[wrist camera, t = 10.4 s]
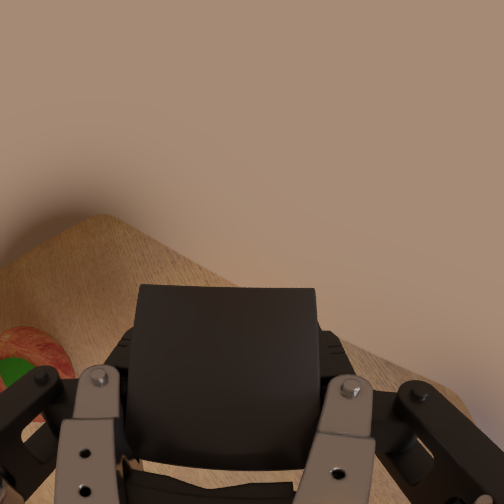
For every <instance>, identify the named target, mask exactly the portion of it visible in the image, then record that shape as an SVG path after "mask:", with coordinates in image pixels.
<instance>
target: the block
mask: <svg viewBox="0 0 504 504" xmlns="http://www.w3.org/2000/svg"><path fill="white" fill-rule="evenodd" d="M320 415H321V386H320V358H319V338H318V321H317V307H316V294H315V289H314V288H241V287H201V286H174V285H151V284H141V285H140V288H139V294H138V300H137V306H136V313H135V320H134V327H133V334H132V342H131V351H130V360H129V371H128V383H127V397H126V416H125V435H126V439H127V442H128V444H129V446H130V448H131V450H132V452H133V454H134V456H135V458H137V459H141V460H146V461H151V462H157V463H163V464H169V465H175V466H183V467H191V468H200V469H211V470H227V471H284V470H300V469H305V466H306V463H307V459H308V456H309V453H310V450H311V446H312V443H313V440H314V436H315V433H316V430H317V426H318V423H319V419H320Z"/></svg>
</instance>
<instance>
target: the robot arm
mask: <svg viewBox="0 0 504 504" xmlns="http://www.w3.org/2000/svg"><path fill="white" fill-rule="evenodd" d="M132 334H133V327H132V328H131V329H129V330H128V331H126V333H125V334H124V335H123V337H122V338H121V340H120V341H119V342H118V344H117V346H116V347H115V348H114V350H113V351H112V352H111V354H110V355H109V357H108V358H107V360H106V361H105V363H104V364H101V365H94V366H91V367H89V368H87V369H86V370H84V371H83V372H82V373H81V375H80V377H79V379H61V378H60V375H59V373H58V371H57V369H56V368H54V367H52V366H49V365H42V366H37V367H35V368H33V369H31V370H30V371H28V372H27V373H26V374H24V375H23V376H22V377H21V378H19V379H18V380H17V381H15V382H14V383H13V384H11V385H10V386H9V387H7V388H6V389H5V390H4V391H2V392H1V393H0V504H25V502H26V501H27V500H28V498H29V497H30V496H31V495H32V494H33V493H34V492H35V491H36V490H37V488H38V487H39V486H40V485H41V484H42V483H43V482H44V481H45V479H46V478H47V477H48V476H49V475H50V474H51V473H52V472H53V471H54V469H55V468H56V474H55V492H54V504H368V502H369V495H370V488H371V481H372V473H373V464H374V454H376V456H377V457H378V459H379V460H380V461H381V463H382V464H383V466H384V467H385V468H386V470H387V471H388V472H389V474H390V475H391V477H392V478H393V479H394V481H395V482H396V483H397V485H398V486H399V488H400V489H401V490H402V492H403V493H404V494H405V496H406V497H407V498H408V500H409V501H410V503H411V504H504V452H503V451H502V450H501V449H500V448H499V447H498V446H497V445H496V444H495V443H493V442H492V441H491V440H490V439H489V438H488V437H487V436H486V435H485V434H484V433H483V432H482V431H481V430H480V429H479V428H478V427H476V426H475V425H474V424H473V423H472V422H471V421H470V420H469V419H468V418H467V417H466V416H465V415H464V414H462V413H461V412H460V411H459V410H458V409H457V408H456V407H455V406H454V405H453V404H452V403H450V402H449V401H448V400H447V399H446V398H445V397H444V396H443V395H442V394H441V393H440V392H438V391H437V390H436V389H435V388H434V387H433V386H432V385H430V384H428V383H426V382H423V381H418V380H412V381H407V382H405V383H403V384H402V385H401V386H400V387H399V390H398V392H397V393H396V392H383V391H376V390H373V388H372V386H371V384H370V383H369V382H368V381H367V380H366V379H364V378H362V377H360V376H357V375H356V374H355V372H354V370H353V367H352V365H351V363H350V361H349V359H348V357H347V355H346V354H345V351H344V349H343V347H342V344H341V342H340V340H339V338H338V337H337V336H336V335H334V334H333V333H332V332H331V331H322V330H321V328H320V326H319V323H318V338H319V358H320V386H321V415H320V419H319V423H318V426H317V430H316V433H315V436H314V440H313V443H312V446H311V450H310V453H309V456H308V459H307V463H306V466H305V469H304V472H303V475H302V478H301V480H300V483H299V486H298V489H297V491H293V482H275V483H248V484H243V485H237V486H231V487H224V488H216V489H205V488H202V487H198V486H195V485H192V484H189V483H186V482H183V481H181V480H178V479H175V478H172V477H170V476H166V475H160V474H155V473H149V472H145V471H144V469H143V462H142V460H141V459H137V458H135V456H134V454H133V452H132V450H131V448H130V446H129V444H128V442H127V439H126V435H125V416H126V397H127V383H128V371H129V360H130V351H131V342H132ZM40 413H41V415H42V417H43V419H44V420H45V423H44V424H43V425H42V426H41V427H40V428H39V429H38V430H37V431H36V432H35V433H34V434H33V435H32V436H31V437H30V438H29V439H28V440H27V441H25V442H24V443H23V441H22V439H21V433H22V431H23V429H24V428H25V427H26V426H27V425H28V424H29V423H31V422H32V421H33V420H34V419H35V418H36V417H37V416H38V415H39V414H40ZM417 438H419V439H420V440H421V441H422V442H423V444H424V445H425V446H426V447H427V448H428V449H429V450H430V451H431V453H432V454H433V456H434V459H433V458H432V456H431V455H430V454H429V453H428V452H427V451H426V450H425V448H424V447H423V446H422V445H421V444H420V443H419V442H418V440H417Z"/></svg>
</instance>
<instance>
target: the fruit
mask: <svg viewBox="0 0 504 504" xmlns="http://www.w3.org/2000/svg"><path fill="white" fill-rule="evenodd" d="M42 365H49V366H52V367H54V368H56V369H57V371H58V373H59V375H60V378H61V379H75V372H74V370H73V367H72V364H71V361H70V358H69V356H68V355H67V354H66V352H65V351H64V349H63V348H62V346H61V345H60V344H58V343H57V342H56V341H55V340H54V339H53V338H52V337H51V336H50V335H48V334H46V333H44V332H42V331H40V330H39V329H36V328H33V327H24V326H20V327H15V328H11V329H9V330H6V331H4V332H3V333H1V334H0V393H1V392H2V391H4V390H5V389H6V388H7V387H9V386H10V385H11V384H13V383H14V382H15V381H17V380H18V379H19V378H21V377H22V376H23V375H24V374H26V373H27V372H28V371H30V370H31V369H33V368H35V367H37V366H42ZM33 422H45V420H44V419H43V417H42V415H41V413H40V414H39V415H38V416H37V417H36V418H35V419H34V420H33Z"/></svg>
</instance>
